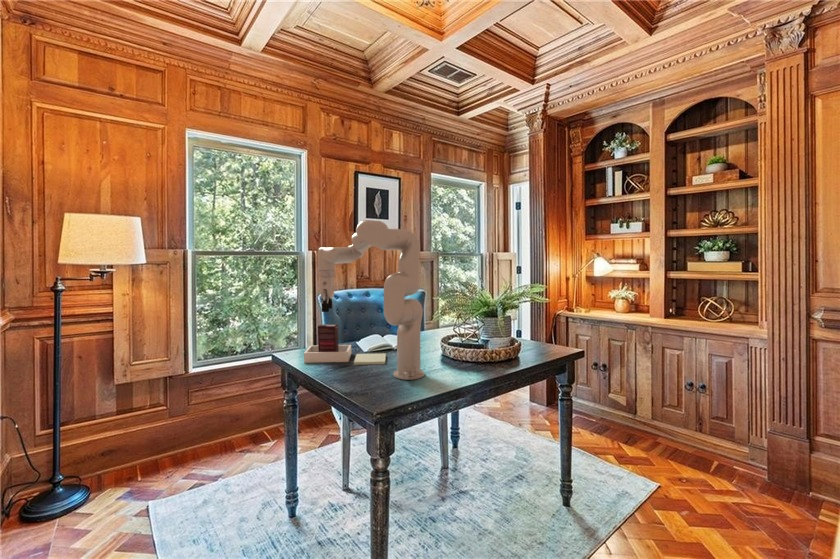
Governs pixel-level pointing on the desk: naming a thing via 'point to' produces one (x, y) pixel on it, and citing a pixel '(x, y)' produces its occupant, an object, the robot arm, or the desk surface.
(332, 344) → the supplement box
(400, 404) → the desk surface
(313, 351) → the bin
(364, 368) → the desk surface
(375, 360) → the board
